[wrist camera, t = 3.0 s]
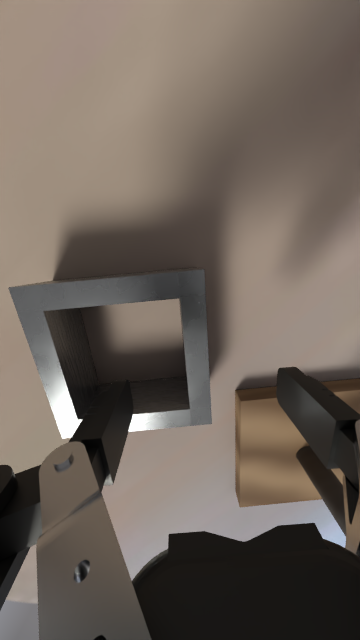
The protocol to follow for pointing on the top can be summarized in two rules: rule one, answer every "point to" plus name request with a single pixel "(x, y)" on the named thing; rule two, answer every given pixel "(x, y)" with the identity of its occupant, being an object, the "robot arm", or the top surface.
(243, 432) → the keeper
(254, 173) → the top surface
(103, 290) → the link
